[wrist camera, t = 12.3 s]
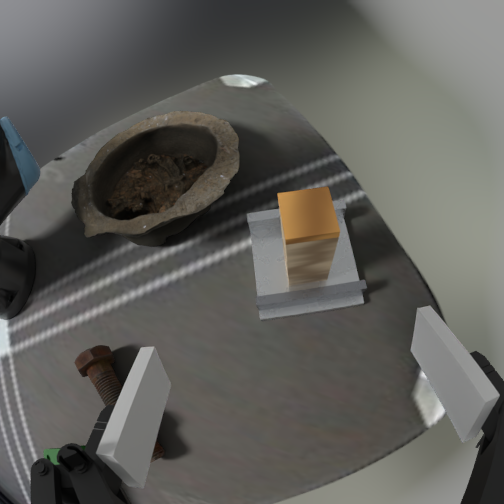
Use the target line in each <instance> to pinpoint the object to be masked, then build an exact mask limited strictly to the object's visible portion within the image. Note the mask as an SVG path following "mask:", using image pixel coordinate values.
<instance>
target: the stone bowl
mask: <svg viewBox="0 0 504 504" xmlns="http://www.w3.org/2000/svg"><path fill="white" fill-rule="evenodd" d="M238 141H239V138H238V136H237V133H235V132H234V129H233V128H232V127H231V126H230V125H229V123H228V121H226V120H222V119H217V117H215V116H212V115H209V114H204V113H201V112H196V113H195V112H189V111H174V112H171V113H168V114H166V115H163V116H161V115H158V116H156V117H151V118H147V119H145V120H143V121H141V122H139V123H137V124H135V125H133V126H132V127H130V128H129V129H127V130H125V131H123V132H121V133H119V134H117V135H116V136H115V137H113V138H112V139H111V140H110V141H109V142H107V143H106V144H105V145H104V146H103V147H102V148H101V149H100V150H99V152H98V153H97V154H96V156H95V158H94V160H93V161H92V162H91V163H90V165H89V167H88V168H87V170H86V173H85V174H84V175H83V176H81V177H80V178H79V179H78V180H76V181H75V182H74V188H73V189H72V202H71V203H72V206H73V208H74V209H75V213H76V214H77V217H78V218H79V219H80V220H81V221H82V222H84V224H85V226H86V227H85V228H84V230H85V233H84V235H86V238H87V237H93V236H96V235H102V234H107V233H115V234H117V235H122V236H123V237H125V238H126V239H128V240H130V241H132V242H133V243H135V244H137V245H144V246H150V247H155V246H158V245H161V244H163V243H165V241H166V239H167V237H168V236H170V235H175V234H178V233H180V232H181V231H182V230H183V229H185V228H187V227H188V226H189V225H190V224H191V223H192V221H193V220H194V219H195V218H196V217H197V216H200V215H203V214H205V213H206V212H207V211H208V210H209V209H210V207H211V205H212V203H213V202H214V201H215V200H217V199H218V198H219V197H221V196H222V195H223V194H224V190H225V187H226V186H227V185H228V184H229V183H230V179H231V178H232V177H233V176H234V174H236V173H237V172H238V169H239V151H238ZM199 160H203V161H204V163H199Z"/></svg>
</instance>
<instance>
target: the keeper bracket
mask: <svg viewBox="0 0 504 504" xmlns="http://www.w3.org/2000/svg"><path fill="white" fill-rule="evenodd" d="M332 202H333V206H334V209H335V213H336V217H337V221H338V224H339V228H340V235H339V239H338V243H337V246H336V250H335V254H334V257H333V261H332V265H331V268H330V272H329V275H328V279H327V280H324V281H317V282H311V283H304V284H298V285H291V286H289V283H288V276H287V270H286V263H285V257H284V250H283V240H282V230H281V221H280V212H279V209H273V210H266V211H260V212H253V213H247V221H248V225H249V228H250V232H251V240H252V249H253V259H254V268H255V277H256V286H257V295H258V296H256V305H257V307H258V309H259V313H260V320H261V321H265V320H273V319H280V318H287V317H294V316H301V315H308V314H314V313H320V312H326V311H332V310H338V309H344V308H350V307H355V306H361V305H363V304H364V300H363V293H364V292H365V290H366V289H367V286H366V282H365V280H360V281H359V277H358V272H357V268H356V264H355V260H354V255H353V251H352V247H351V243H350V239H349V235H348V232H347V228H346V224H345V220H344V216H345V212H346V205H345V201H344V200H338V201H332Z"/></svg>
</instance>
